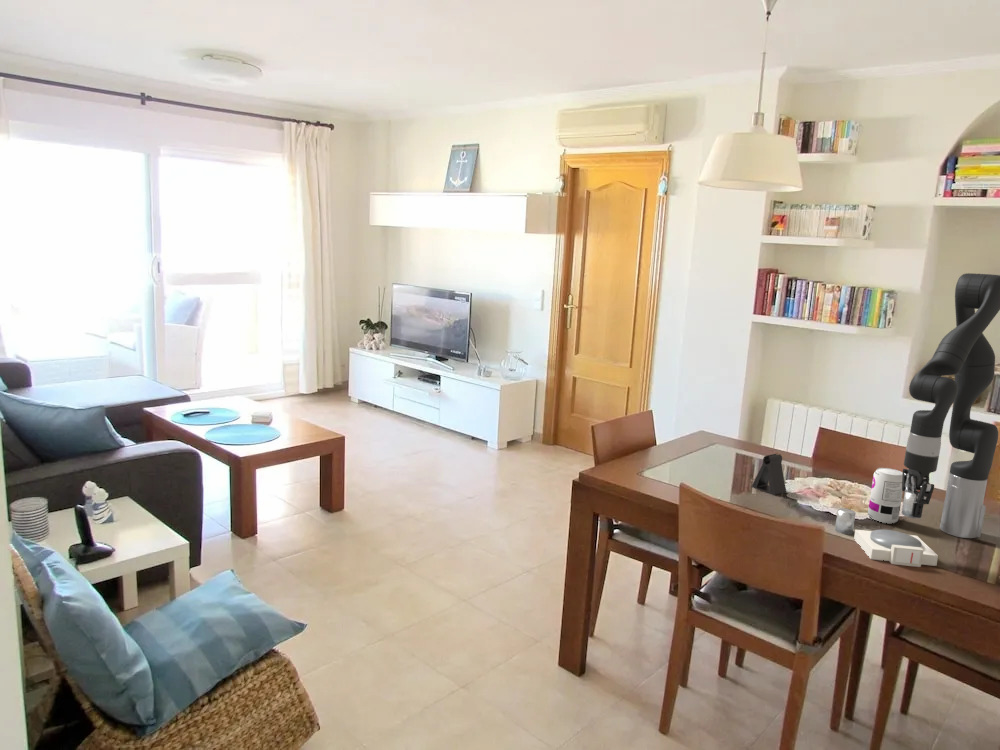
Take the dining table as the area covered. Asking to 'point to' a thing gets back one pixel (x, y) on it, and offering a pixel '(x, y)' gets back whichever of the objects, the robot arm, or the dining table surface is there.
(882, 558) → the scale
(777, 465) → the black triangular stand
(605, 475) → the dining table surface
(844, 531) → the cylinder
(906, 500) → the silver metal block
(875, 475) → the supplement can
